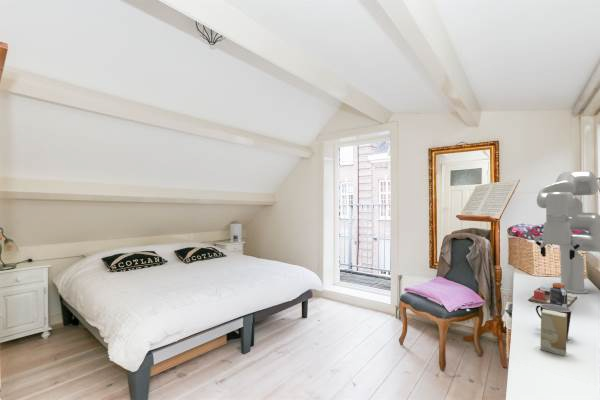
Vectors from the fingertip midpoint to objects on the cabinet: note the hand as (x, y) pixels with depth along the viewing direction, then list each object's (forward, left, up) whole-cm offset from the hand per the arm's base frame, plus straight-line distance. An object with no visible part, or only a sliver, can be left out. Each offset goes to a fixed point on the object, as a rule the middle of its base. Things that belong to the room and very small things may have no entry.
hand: (557, 257), depth 140 cm
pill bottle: (+1, 0, -23) cm, 23 cm away
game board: (-15, -4, -23) cm, 28 cm away
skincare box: (+53, +8, -23) cm, 58 cm away
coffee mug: (+37, +5, -23) cm, 44 cm away
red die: (-8, -8, -23) cm, 26 cm away
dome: (-21, -8, -22) cm, 31 cm away
